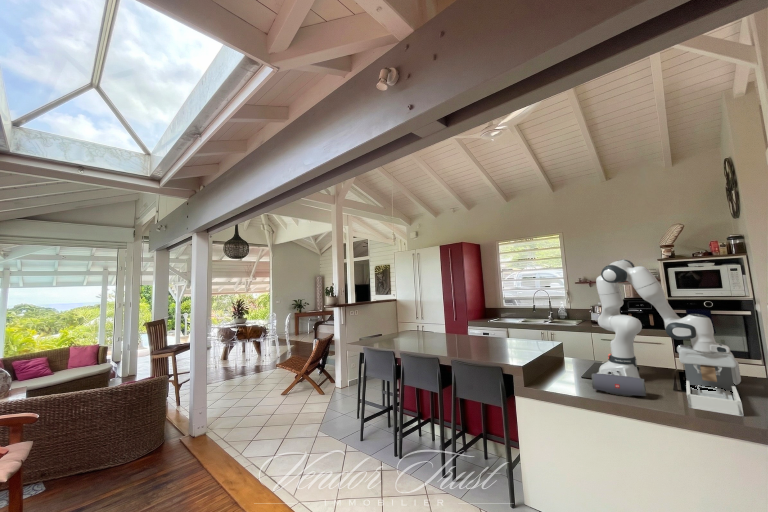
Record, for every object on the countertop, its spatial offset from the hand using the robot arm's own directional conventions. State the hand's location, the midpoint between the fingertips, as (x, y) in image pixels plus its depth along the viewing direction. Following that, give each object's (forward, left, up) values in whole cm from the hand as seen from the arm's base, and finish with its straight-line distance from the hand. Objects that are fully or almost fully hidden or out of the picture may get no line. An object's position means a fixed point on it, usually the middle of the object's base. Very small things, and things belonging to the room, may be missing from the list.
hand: (708, 374), depth 157 cm
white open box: (0, -10, -11) cm, 15 cm away
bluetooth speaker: (-36, -18, -11) cm, 41 cm away
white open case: (0, 0, -11) cm, 11 cm away
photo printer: (+10, +28, -11) cm, 31 cm away
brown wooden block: (0, 0, -2) cm, 2 cm away
